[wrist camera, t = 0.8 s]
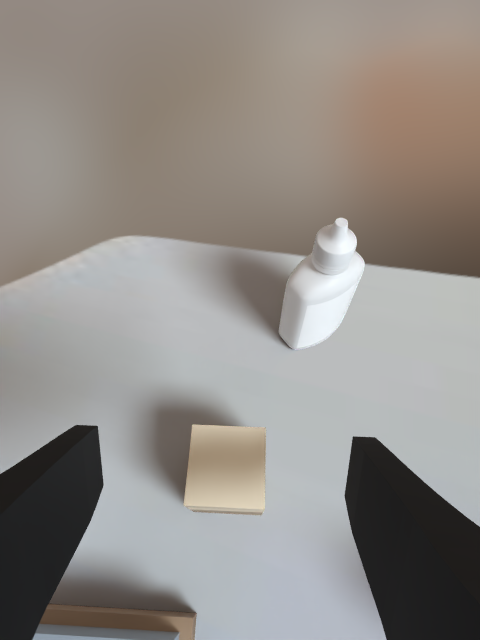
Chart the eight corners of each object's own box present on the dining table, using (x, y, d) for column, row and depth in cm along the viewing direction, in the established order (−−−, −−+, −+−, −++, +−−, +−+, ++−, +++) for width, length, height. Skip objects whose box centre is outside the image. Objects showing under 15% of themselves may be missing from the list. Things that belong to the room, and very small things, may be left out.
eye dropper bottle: (350, 346, 31) (402, 247, 21) (281, 353, 31) (298, 257, 21) (338, 300, 33) (379, 190, 23) (273, 306, 33) (285, 198, 23)
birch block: (261, 515, 25) (264, 509, 21) (194, 511, 26) (183, 505, 21) (262, 445, 28) (265, 427, 23) (200, 443, 28) (192, 424, 23)
